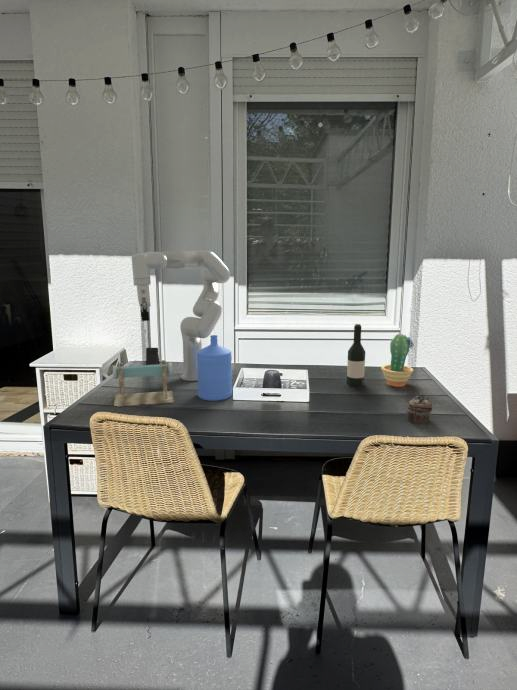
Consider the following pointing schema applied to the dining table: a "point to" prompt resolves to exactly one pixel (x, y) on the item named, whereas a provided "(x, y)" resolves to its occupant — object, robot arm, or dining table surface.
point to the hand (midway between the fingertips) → (145, 318)
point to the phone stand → (152, 356)
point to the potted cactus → (398, 361)
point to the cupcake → (419, 409)
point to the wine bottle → (356, 360)
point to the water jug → (214, 372)
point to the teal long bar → (142, 370)
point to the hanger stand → (142, 398)
